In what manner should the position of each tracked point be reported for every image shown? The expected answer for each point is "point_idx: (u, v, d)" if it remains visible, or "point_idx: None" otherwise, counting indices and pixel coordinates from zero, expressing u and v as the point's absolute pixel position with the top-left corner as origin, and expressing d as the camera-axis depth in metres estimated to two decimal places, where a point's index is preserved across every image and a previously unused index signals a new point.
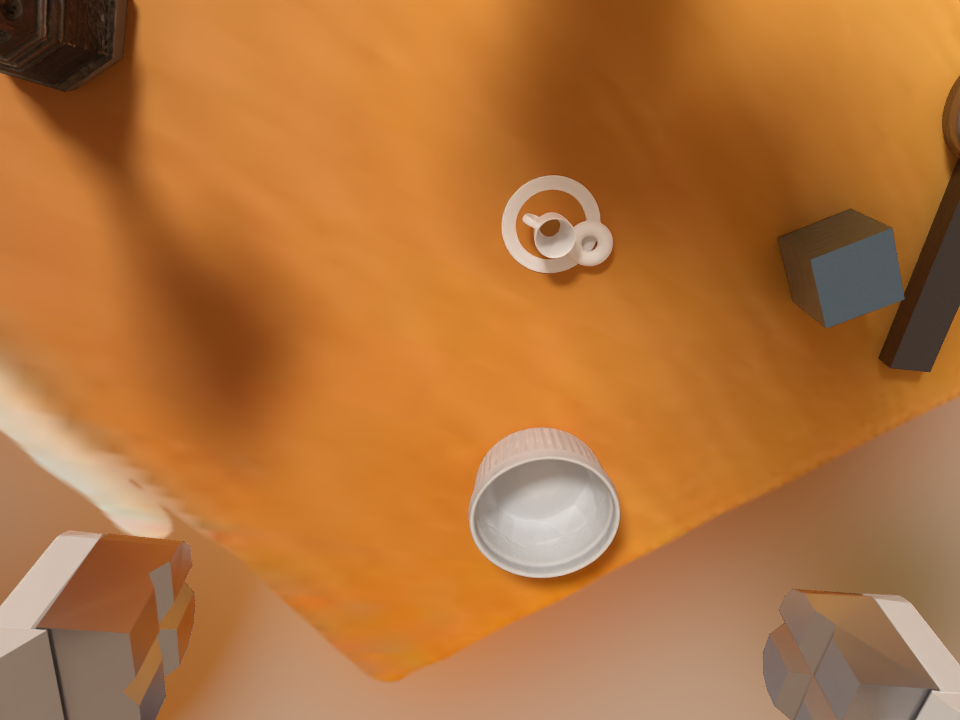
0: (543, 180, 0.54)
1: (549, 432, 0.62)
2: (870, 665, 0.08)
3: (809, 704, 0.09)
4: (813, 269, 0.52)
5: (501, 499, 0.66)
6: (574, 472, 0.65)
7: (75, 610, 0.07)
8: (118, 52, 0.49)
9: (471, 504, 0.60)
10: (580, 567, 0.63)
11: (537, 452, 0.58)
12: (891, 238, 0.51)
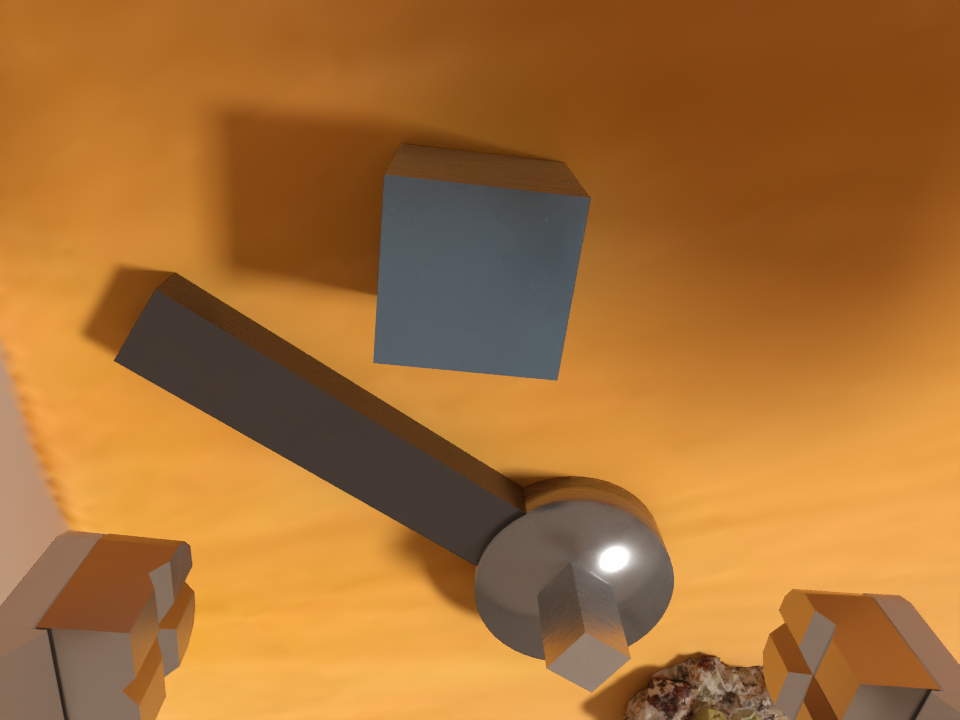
0: None
1: None
2: (870, 665, 0.08)
3: (809, 704, 0.09)
4: (561, 196, 0.20)
5: None
6: None
7: (75, 611, 0.07)
8: None
9: None
10: None
11: None
12: (534, 374, 0.23)
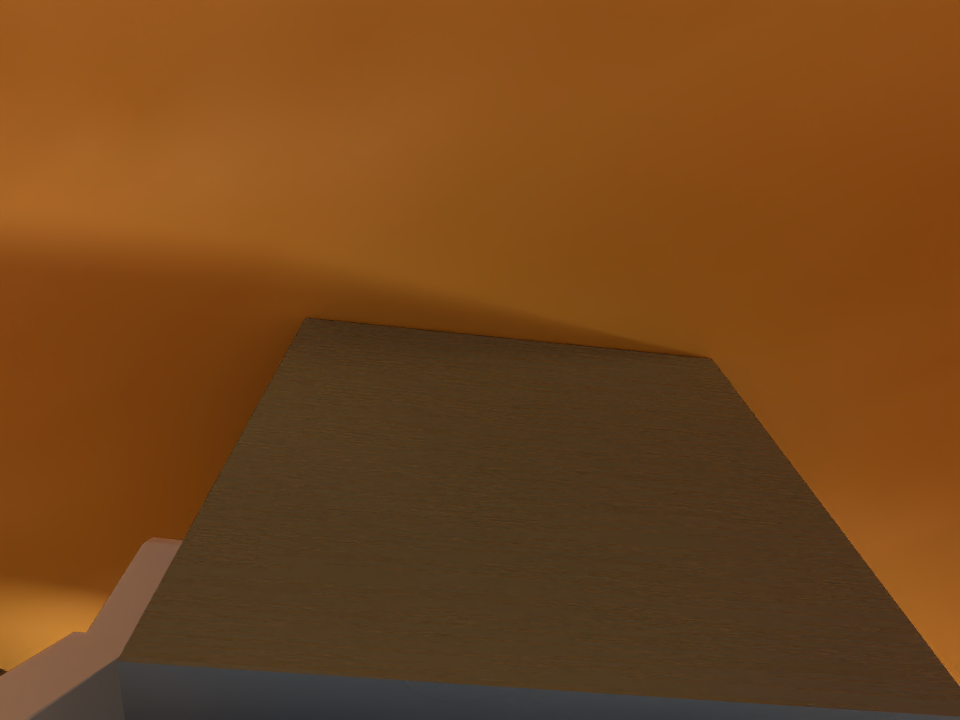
0: None
1: None
2: None
3: None
4: (866, 716, 0.05)
5: None
6: None
7: None
8: None
9: None
10: None
11: None
12: None
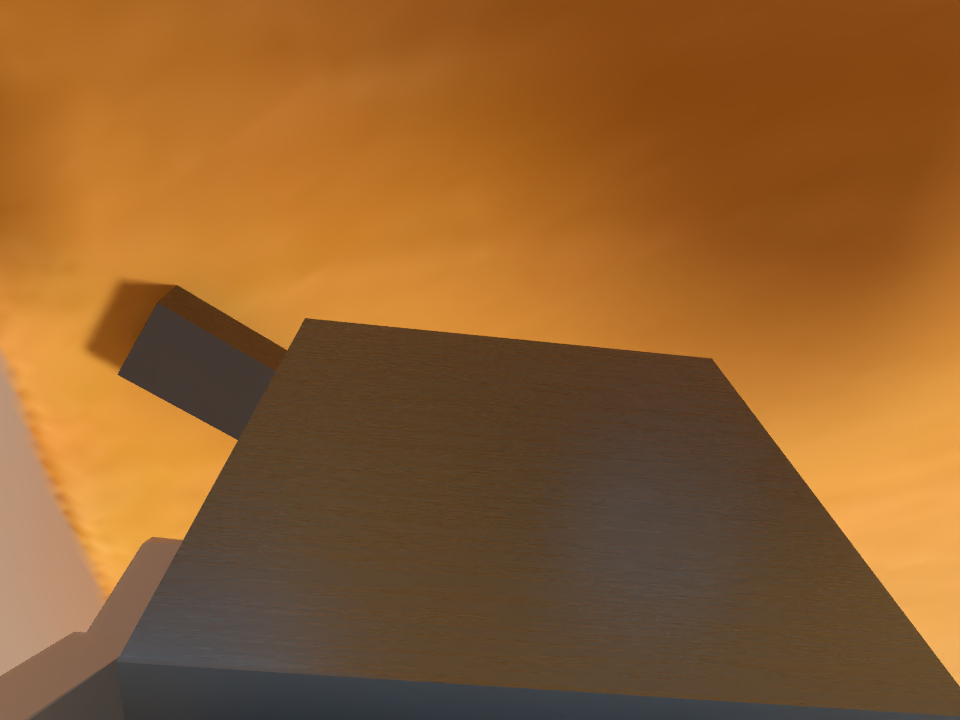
0: None
1: None
2: None
3: None
4: (865, 716, 0.05)
5: None
6: None
7: None
8: None
9: None
10: None
11: None
12: None
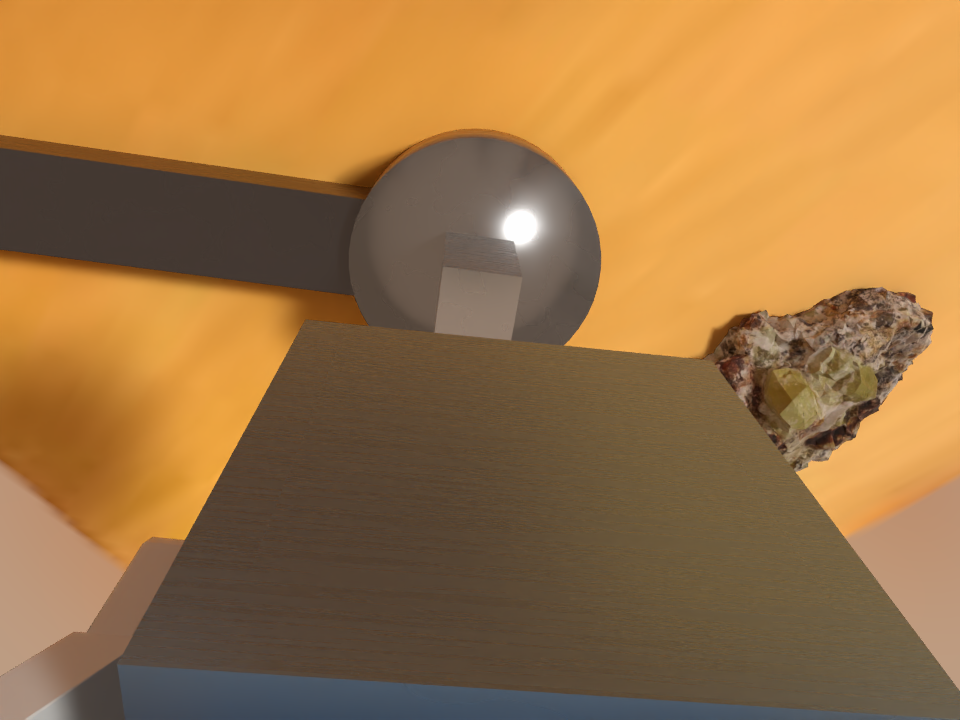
0: None
1: None
2: None
3: None
4: (865, 719, 0.05)
5: None
6: None
7: None
8: None
9: None
10: None
11: None
12: None
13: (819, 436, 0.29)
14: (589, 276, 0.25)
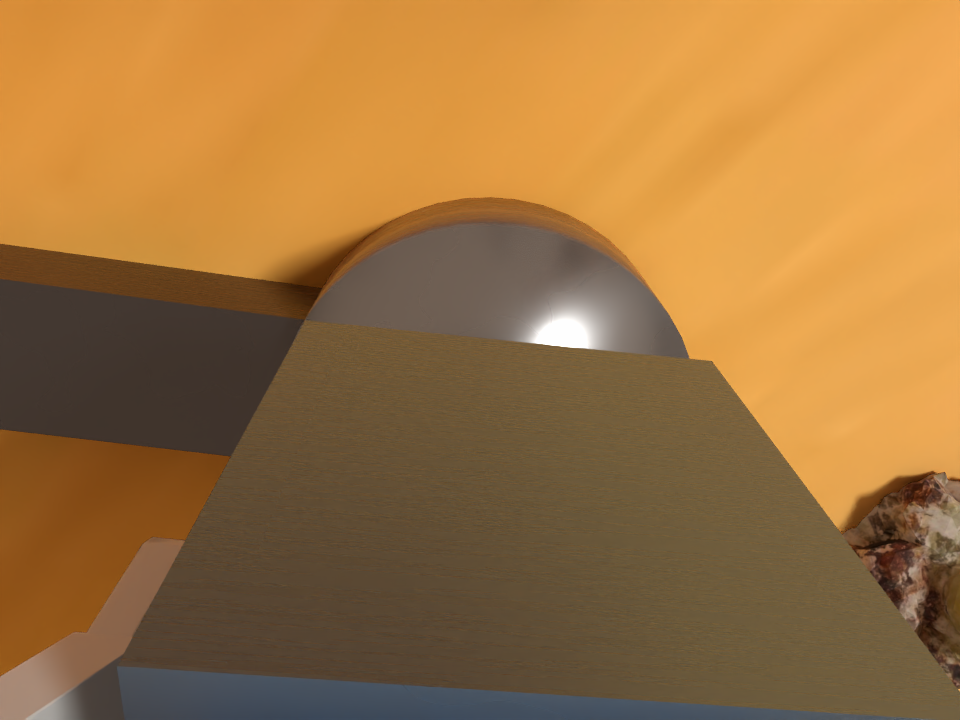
0: None
1: None
2: None
3: None
4: None
5: None
6: None
7: None
8: None
9: None
10: None
11: None
12: None
13: None
14: None
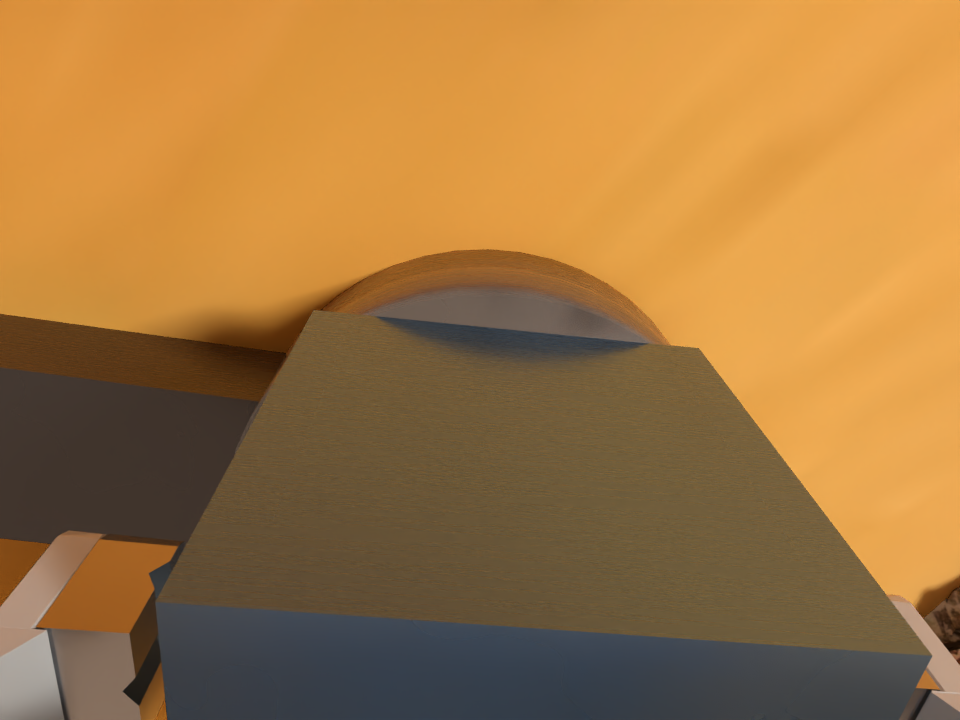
0: None
1: None
2: None
3: None
4: (827, 654, 0.05)
5: None
6: None
7: (75, 611, 0.07)
8: None
9: None
10: None
11: None
12: None
13: None
14: None
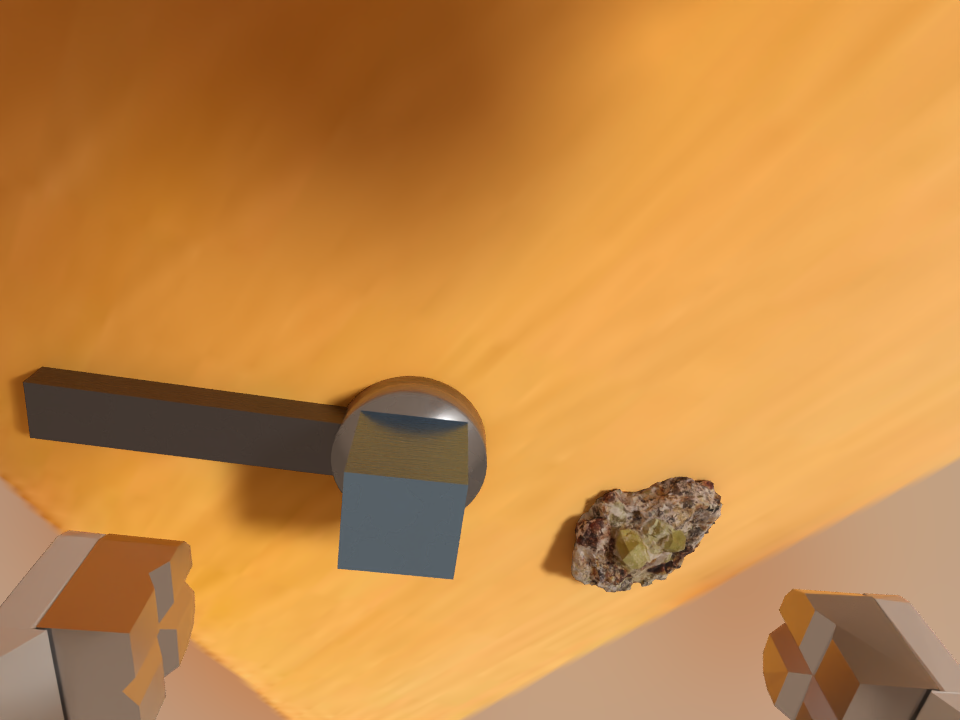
0: None
1: None
2: (870, 665, 0.08)
3: (809, 704, 0.09)
4: (450, 484, 0.34)
5: None
6: None
7: (74, 610, 0.07)
8: None
9: None
10: None
11: None
12: (438, 575, 0.36)
13: (655, 567, 0.45)
14: (480, 469, 0.41)
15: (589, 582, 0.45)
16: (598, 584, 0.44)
